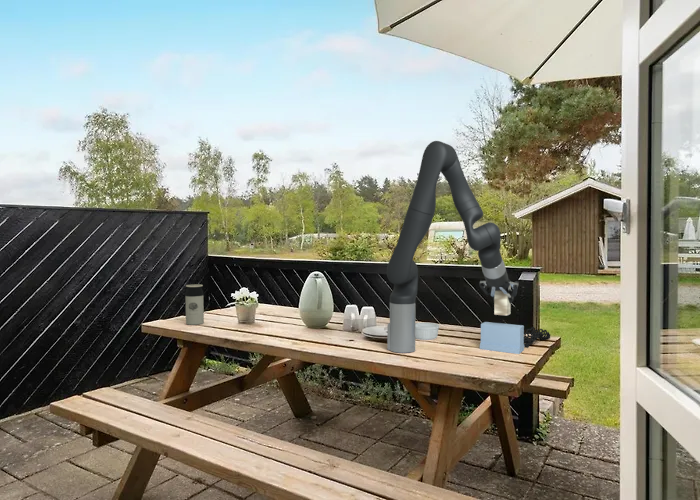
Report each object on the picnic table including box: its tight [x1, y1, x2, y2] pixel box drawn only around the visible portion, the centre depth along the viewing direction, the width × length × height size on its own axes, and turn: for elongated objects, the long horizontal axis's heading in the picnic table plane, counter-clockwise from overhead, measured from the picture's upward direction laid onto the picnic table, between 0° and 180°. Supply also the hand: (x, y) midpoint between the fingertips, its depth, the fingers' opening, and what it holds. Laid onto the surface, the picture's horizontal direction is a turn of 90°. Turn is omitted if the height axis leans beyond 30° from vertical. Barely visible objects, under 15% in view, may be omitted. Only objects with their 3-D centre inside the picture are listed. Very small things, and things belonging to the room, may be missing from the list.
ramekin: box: [415, 321, 440, 341], centre depth 202 cm, size 11×11×5 cm
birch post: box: [493, 285, 512, 316], centre depth 180 cm, size 4×4×11 cm
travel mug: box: [184, 283, 205, 326], centre depth 233 cm, size 8×8×18 cm
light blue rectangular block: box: [479, 321, 525, 355], centre depth 181 cm, size 14×7×9 cm, turn 57°
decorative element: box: [524, 326, 551, 349], centre depth 191 cm, size 22×5×6 cm, turn 134°
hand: (503, 300), depth 182 cm, fingers closed on birch post, 4 cm apart
